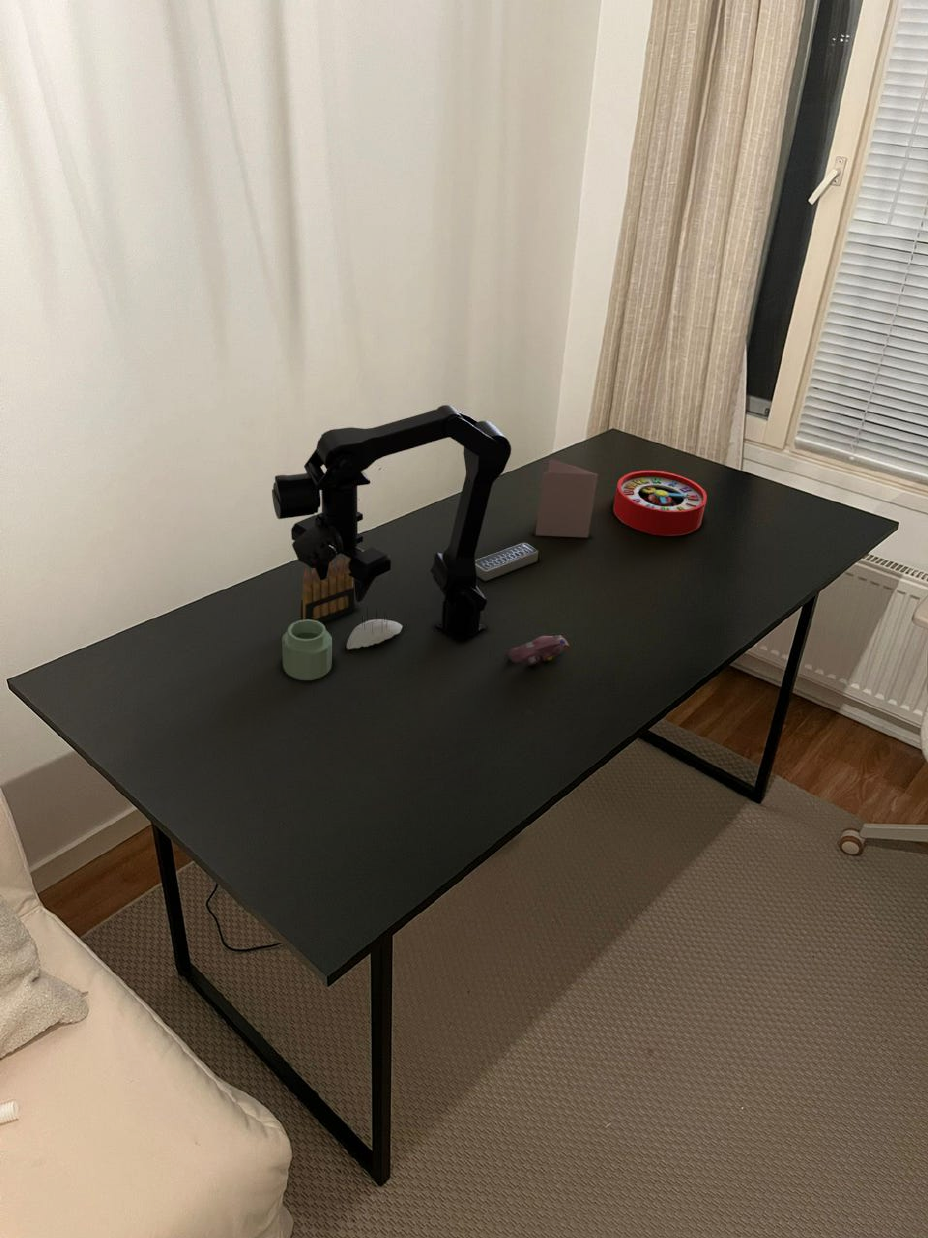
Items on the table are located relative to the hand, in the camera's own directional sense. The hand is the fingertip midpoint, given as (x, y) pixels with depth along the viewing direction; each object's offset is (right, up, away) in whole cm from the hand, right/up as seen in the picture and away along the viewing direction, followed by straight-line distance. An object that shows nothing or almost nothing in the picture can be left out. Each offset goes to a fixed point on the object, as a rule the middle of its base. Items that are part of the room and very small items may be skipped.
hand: (340, 590), depth 169 cm
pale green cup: (-6, -13, +2) cm, 14 cm away
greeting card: (+41, +13, +47) cm, 64 cm away
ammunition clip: (-4, -5, +15) cm, 16 cm away
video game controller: (+34, -12, +8) cm, 37 cm away
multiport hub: (+29, +6, +34) cm, 45 cm away
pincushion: (+5, -9, +10) cm, 14 cm away
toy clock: (+65, +19, +58) cm, 89 cm away
